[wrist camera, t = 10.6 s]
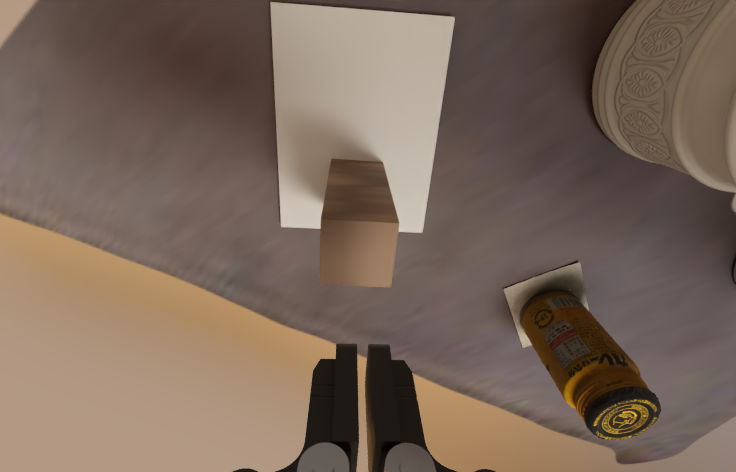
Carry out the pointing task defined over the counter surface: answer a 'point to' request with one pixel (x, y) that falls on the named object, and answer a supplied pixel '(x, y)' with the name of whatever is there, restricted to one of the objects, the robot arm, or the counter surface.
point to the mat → (356, 102)
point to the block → (358, 226)
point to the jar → (672, 87)
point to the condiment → (582, 354)
